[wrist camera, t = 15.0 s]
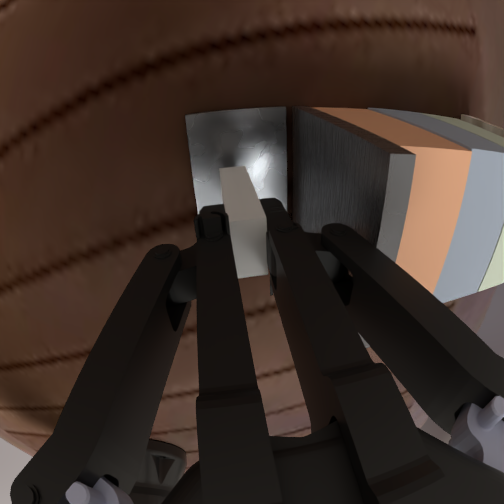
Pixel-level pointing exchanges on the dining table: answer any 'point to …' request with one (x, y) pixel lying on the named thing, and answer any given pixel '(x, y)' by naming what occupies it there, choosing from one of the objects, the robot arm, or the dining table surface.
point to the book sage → (500, 265)
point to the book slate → (468, 207)
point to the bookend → (307, 168)
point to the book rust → (422, 190)
